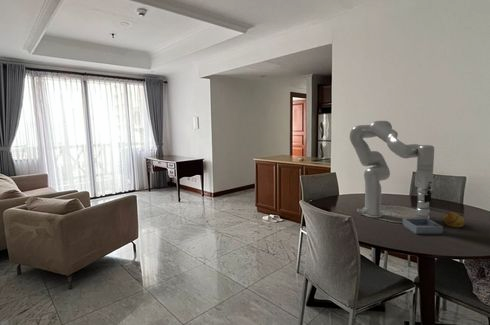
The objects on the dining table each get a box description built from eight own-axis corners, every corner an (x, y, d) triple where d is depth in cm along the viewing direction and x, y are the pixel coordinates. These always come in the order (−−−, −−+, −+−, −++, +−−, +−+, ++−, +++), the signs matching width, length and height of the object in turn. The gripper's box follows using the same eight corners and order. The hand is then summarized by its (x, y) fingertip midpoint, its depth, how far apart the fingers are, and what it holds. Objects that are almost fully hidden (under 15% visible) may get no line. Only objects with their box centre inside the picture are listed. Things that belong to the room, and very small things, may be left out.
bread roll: (440, 220, 173) (441, 207, 172) (460, 222, 169) (461, 209, 168) (445, 227, 161) (446, 213, 160) (466, 229, 157) (467, 215, 156)
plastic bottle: (424, 214, 162) (425, 179, 159) (432, 218, 155) (434, 182, 153) (413, 215, 162) (414, 180, 159) (420, 218, 155) (422, 182, 152)
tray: (416, 234, 153) (416, 227, 152) (402, 225, 166) (402, 218, 166) (442, 233, 152) (443, 226, 152) (426, 224, 166) (427, 218, 166)
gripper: (409, 165, 163) (408, 196, 166) (427, 170, 146) (426, 204, 149) (422, 165, 163) (421, 196, 166) (442, 170, 146) (440, 204, 148)
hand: (423, 199), depth 157 cm, fingers closed on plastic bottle, 6 cm apart
